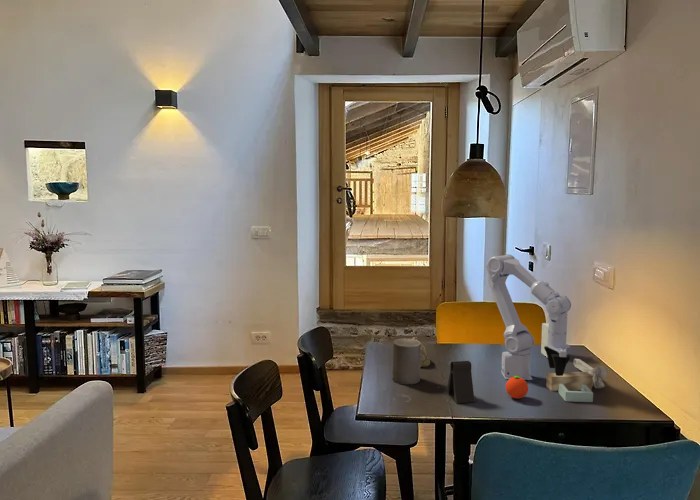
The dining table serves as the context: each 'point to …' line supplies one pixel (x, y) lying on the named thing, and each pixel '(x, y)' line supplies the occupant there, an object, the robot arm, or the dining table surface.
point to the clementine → (516, 387)
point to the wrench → (592, 372)
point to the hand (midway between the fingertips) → (556, 371)
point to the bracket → (576, 394)
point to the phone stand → (460, 382)
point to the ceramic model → (423, 356)
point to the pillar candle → (406, 361)
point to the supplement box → (544, 338)
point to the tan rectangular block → (569, 380)
